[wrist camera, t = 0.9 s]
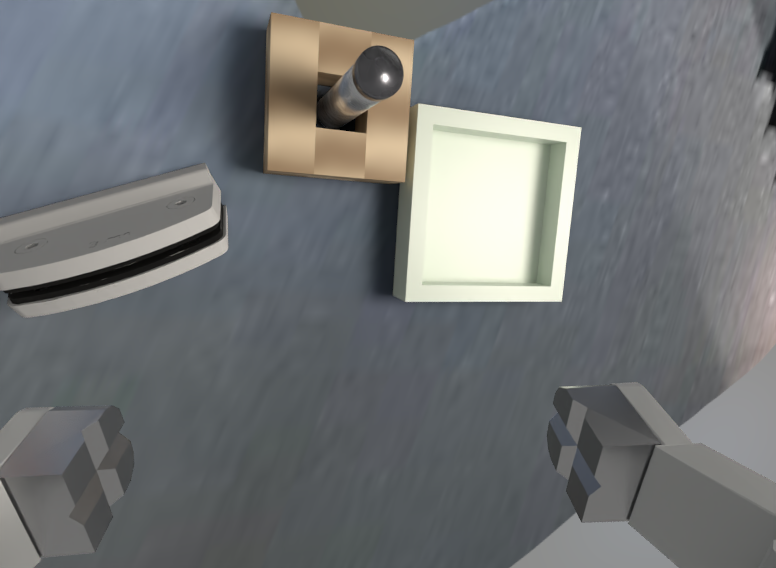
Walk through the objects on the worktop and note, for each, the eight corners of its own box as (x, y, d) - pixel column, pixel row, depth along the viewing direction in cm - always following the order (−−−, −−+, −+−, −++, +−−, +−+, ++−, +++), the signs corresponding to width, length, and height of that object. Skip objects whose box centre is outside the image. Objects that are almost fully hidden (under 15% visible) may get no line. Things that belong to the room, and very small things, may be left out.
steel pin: (315, 91, 43) (357, 41, 30) (350, 96, 44) (405, 50, 31) (314, 128, 43) (354, 94, 30) (348, 132, 44) (401, 101, 31)
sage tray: (404, 110, 46) (418, 103, 43) (558, 132, 52) (581, 127, 49) (392, 295, 48) (405, 301, 45) (541, 295, 54) (561, 301, 51)
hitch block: (266, 30, 41) (271, 12, 37) (397, 54, 45) (414, 40, 41) (263, 173, 42) (267, 170, 39) (390, 184, 46) (404, 182, 43)
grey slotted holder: (209, 161, 41) (225, 197, 33) (228, 211, 44) (246, 256, 36) (-10, 220, 37) (-53, 279, 29) (25, 272, 39) (-5, 339, 31)
